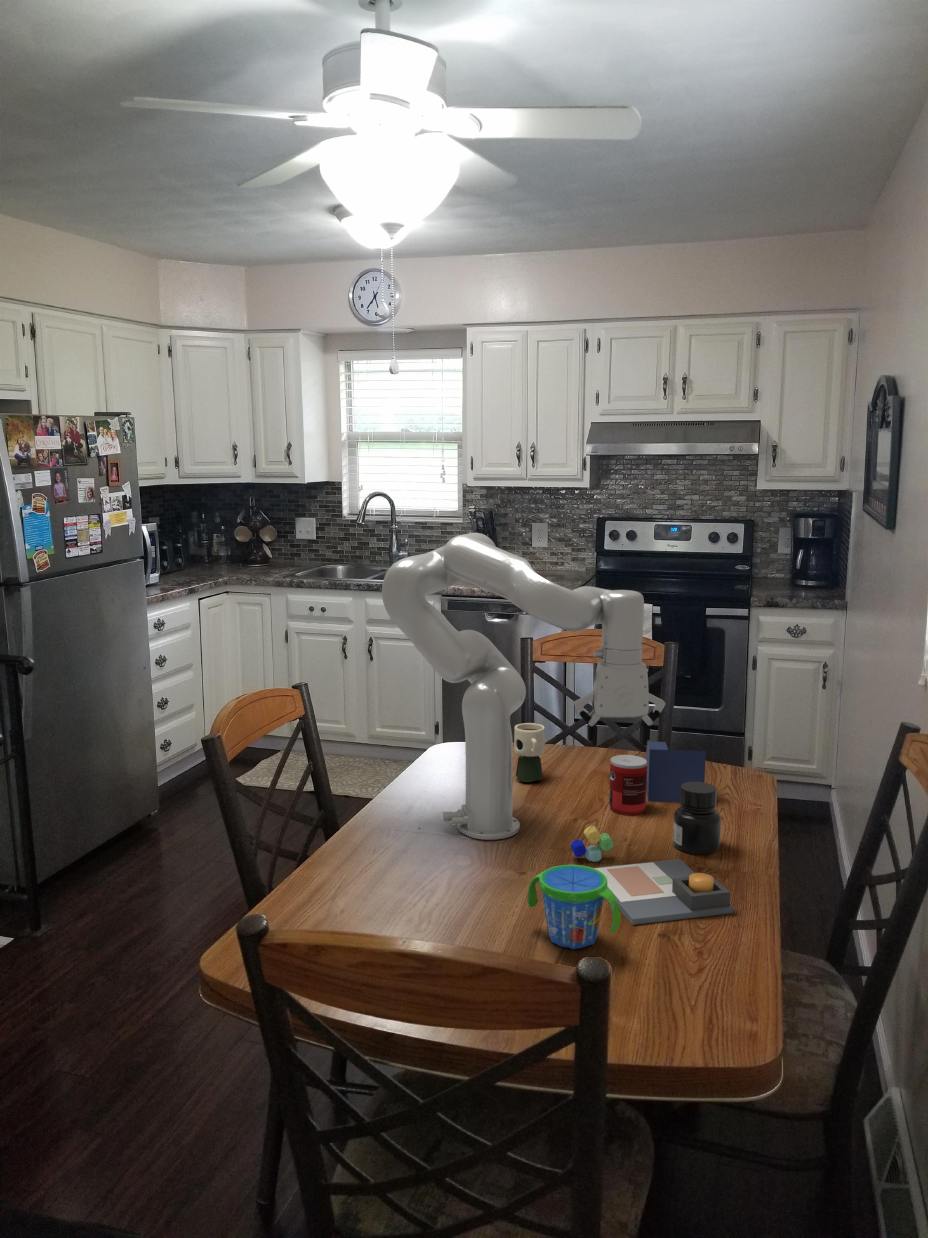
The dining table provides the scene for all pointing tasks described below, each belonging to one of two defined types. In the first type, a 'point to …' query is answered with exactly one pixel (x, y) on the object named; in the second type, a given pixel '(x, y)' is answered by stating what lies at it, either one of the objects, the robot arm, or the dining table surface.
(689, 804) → the ink bottle
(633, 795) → the canned food
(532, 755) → the character mug
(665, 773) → the phone stand
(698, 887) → the button
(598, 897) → the snack cup
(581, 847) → the dice
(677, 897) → the colouring board
